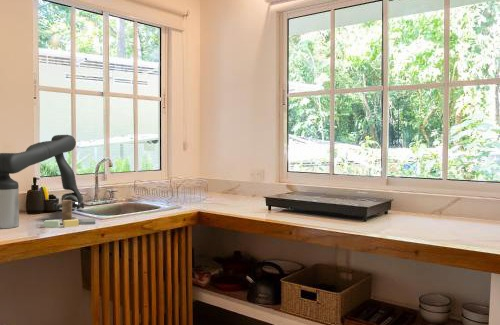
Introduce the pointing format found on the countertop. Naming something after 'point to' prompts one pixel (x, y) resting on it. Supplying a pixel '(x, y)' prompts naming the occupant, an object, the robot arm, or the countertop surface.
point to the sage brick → (51, 223)
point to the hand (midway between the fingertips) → (68, 207)
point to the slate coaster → (86, 221)
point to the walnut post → (66, 210)
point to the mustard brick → (71, 223)
